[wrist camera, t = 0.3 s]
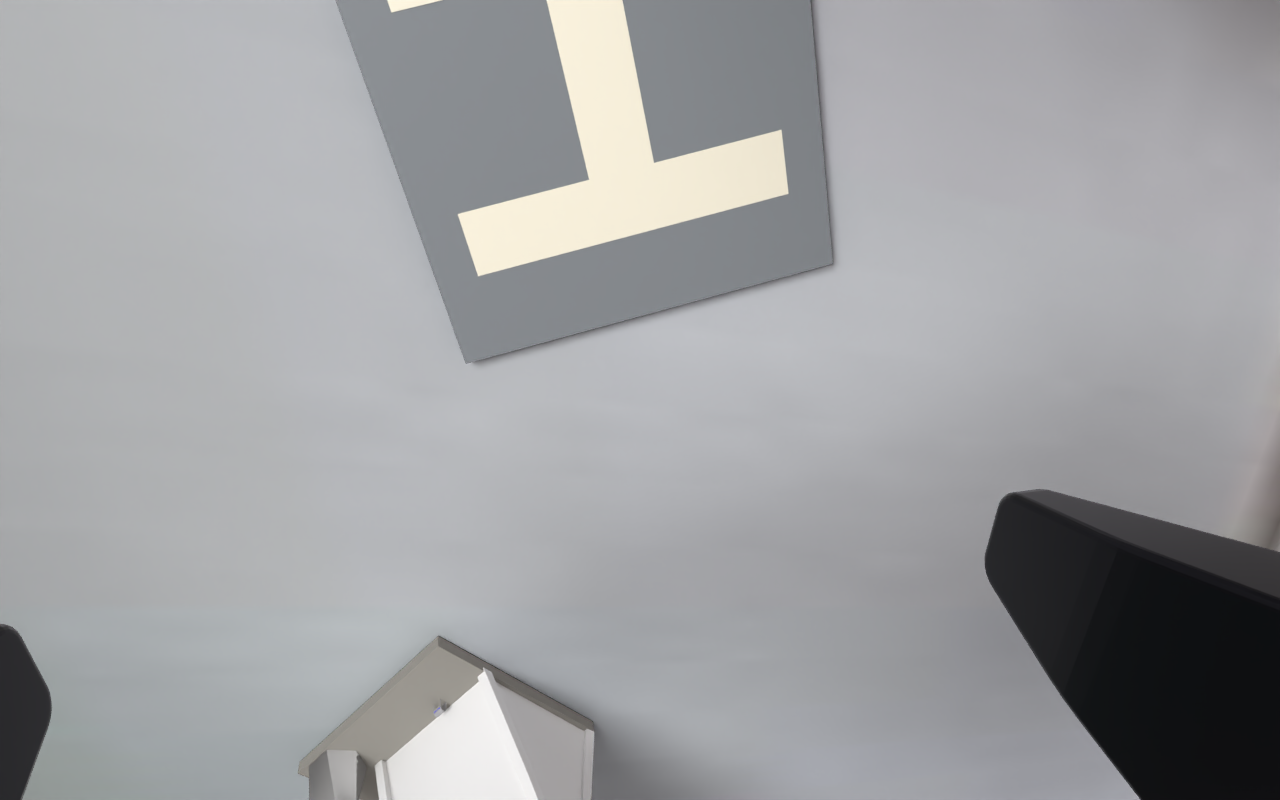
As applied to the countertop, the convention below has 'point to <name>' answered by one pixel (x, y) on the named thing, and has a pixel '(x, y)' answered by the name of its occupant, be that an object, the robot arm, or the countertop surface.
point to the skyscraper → (454, 739)
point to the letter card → (597, 153)
